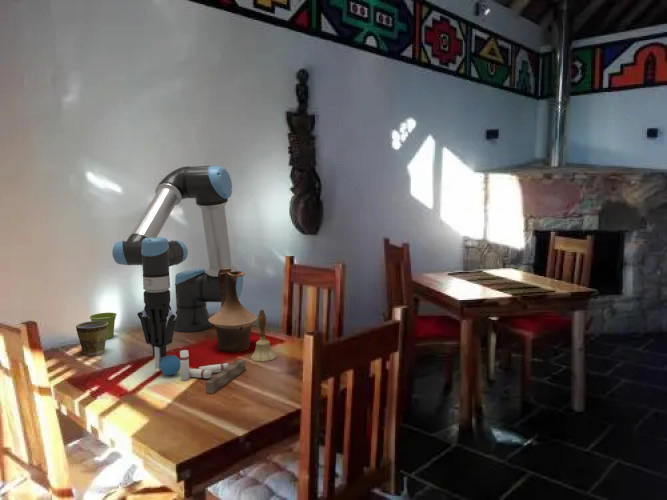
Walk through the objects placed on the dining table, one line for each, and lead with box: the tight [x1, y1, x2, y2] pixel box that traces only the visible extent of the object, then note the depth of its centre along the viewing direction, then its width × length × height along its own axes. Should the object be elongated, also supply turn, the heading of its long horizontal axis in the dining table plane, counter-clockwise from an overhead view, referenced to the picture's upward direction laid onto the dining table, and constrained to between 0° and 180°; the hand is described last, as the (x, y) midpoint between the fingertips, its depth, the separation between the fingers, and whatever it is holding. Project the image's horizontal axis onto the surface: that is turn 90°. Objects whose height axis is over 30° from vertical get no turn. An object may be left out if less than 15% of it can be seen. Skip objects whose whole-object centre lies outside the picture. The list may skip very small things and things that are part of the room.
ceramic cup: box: [75, 320, 108, 357], centre depth 182 cm, size 13×10×10 cm
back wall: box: [205, 358, 247, 394], centre depth 154 cm, size 20×2×3 cm, turn 163°
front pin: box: [189, 367, 213, 380], centre depth 157 cm, size 2×2×8 cm
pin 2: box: [198, 362, 230, 374], centre depth 161 cm, size 2×2×8 cm
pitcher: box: [208, 268, 258, 353], centre depth 185 cm, size 18×17×28 cm
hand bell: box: [250, 309, 277, 363], centre depth 174 cm, size 8×8×16 cm
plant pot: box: [89, 312, 118, 340], centre depth 200 cm, size 9×9×9 cm
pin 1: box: [179, 349, 191, 382], centre depth 155 cm, size 2×2×8 cm
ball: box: [159, 354, 181, 377], centre depth 159 cm, size 6×6×6 cm
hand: (160, 366), depth 160 cm, fingers closed
